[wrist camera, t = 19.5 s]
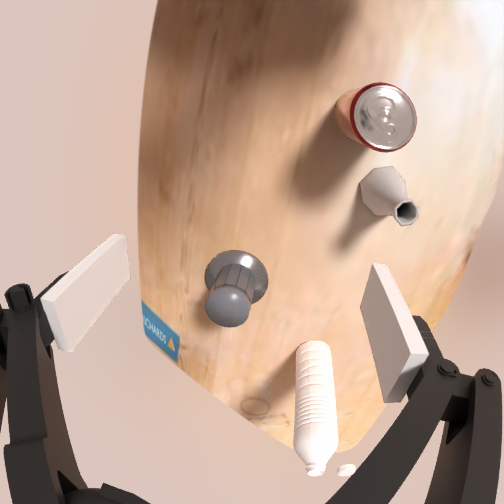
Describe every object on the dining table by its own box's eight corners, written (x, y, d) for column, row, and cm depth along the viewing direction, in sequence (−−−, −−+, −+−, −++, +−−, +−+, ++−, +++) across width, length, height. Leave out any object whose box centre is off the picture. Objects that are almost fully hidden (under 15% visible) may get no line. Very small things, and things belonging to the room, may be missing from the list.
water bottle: (294, 363, 57) (289, 481, 34) (297, 338, 54) (294, 464, 31) (338, 365, 56) (349, 480, 33) (345, 340, 53) (362, 463, 31)
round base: (206, 246, 48) (195, 264, 43) (271, 254, 47) (268, 273, 42) (206, 299, 52) (197, 321, 47) (265, 307, 52) (261, 330, 46)
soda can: (326, 96, 36) (341, 90, 26) (376, 84, 35) (407, 76, 24) (342, 146, 39) (362, 160, 28) (391, 134, 37) (426, 145, 27)
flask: (371, 222, 43) (390, 252, 34) (351, 179, 41) (367, 198, 32) (412, 201, 41) (440, 226, 32) (395, 157, 39) (422, 171, 30)
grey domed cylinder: (218, 261, 48) (205, 289, 41) (256, 266, 48) (250, 295, 41) (217, 293, 51) (205, 323, 44) (253, 298, 50) (247, 330, 43)
